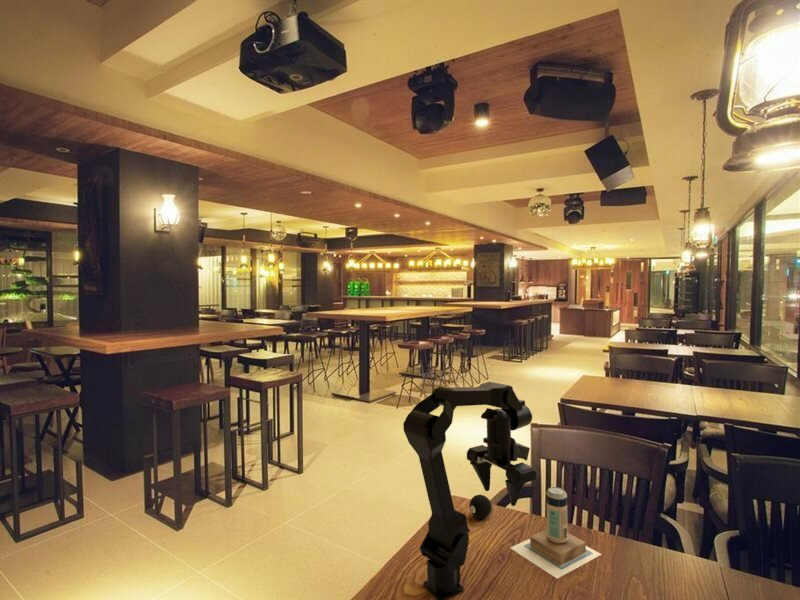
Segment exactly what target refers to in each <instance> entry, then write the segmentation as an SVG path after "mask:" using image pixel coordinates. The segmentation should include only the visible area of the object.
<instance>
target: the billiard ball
mask: <svg viewBox="0 0 800 600" xmlns="http://www.w3.org/2000/svg"><path fill="white" fill-rule="evenodd" d="M492 506H493V505H492V502H491V500H490V499H489V498H488V497H487V496H486V495H483V494H476V495H474V496H473V497H472V498H471V499H470V501H469V511H470V513H471V514H472V515H473V516H474V517H475V518H477V519H486V518H488V517H489V516H490V514H491V512H492V509H493V508H492Z"/></svg>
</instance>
